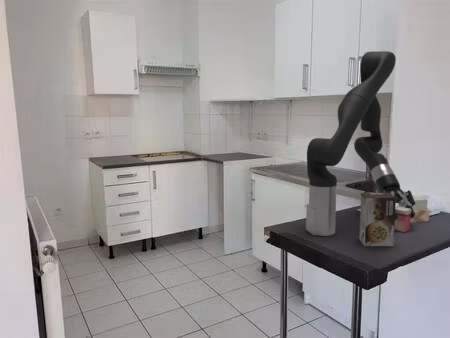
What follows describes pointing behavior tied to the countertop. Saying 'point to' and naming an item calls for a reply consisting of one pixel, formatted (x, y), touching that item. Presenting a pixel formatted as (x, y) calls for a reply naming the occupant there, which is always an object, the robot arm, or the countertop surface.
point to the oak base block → (421, 216)
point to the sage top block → (418, 203)
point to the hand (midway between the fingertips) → (404, 218)
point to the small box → (402, 219)
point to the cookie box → (377, 219)
